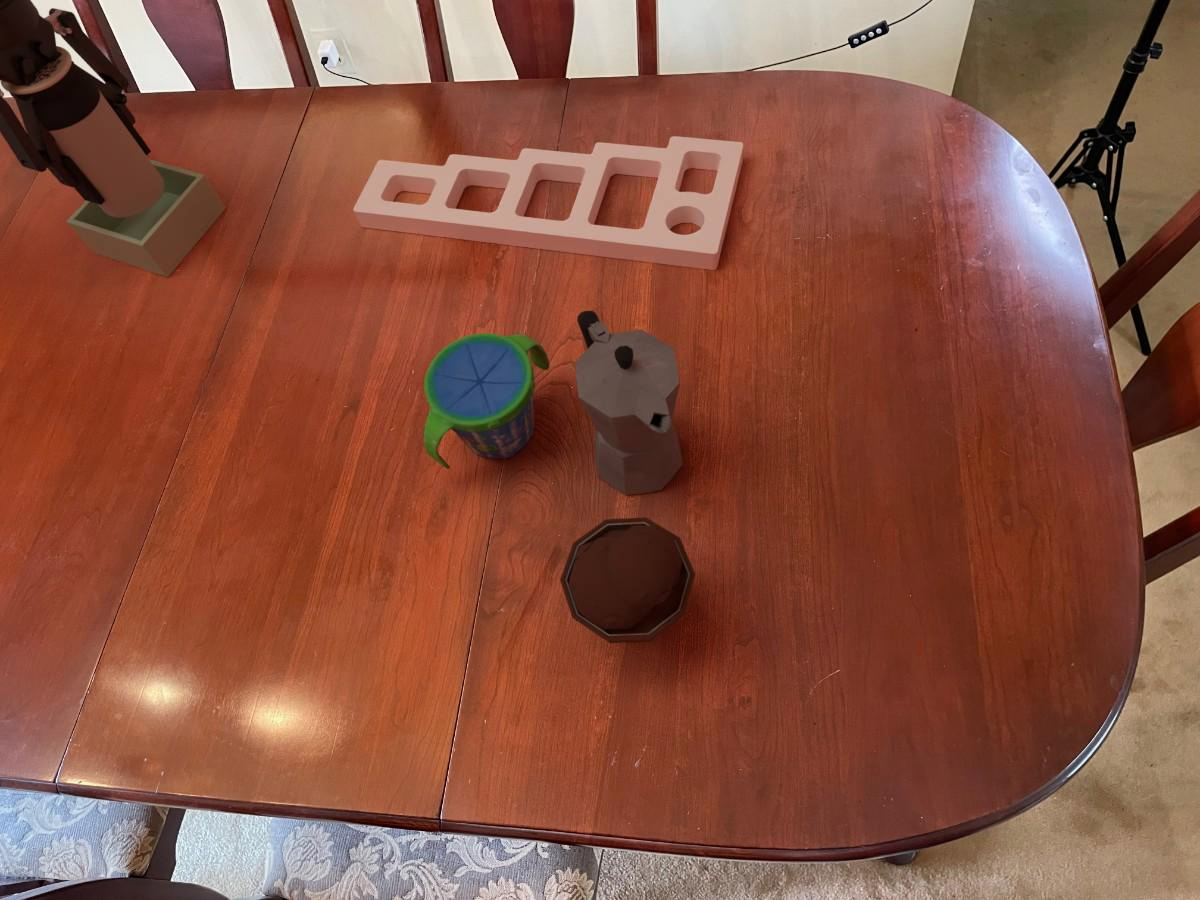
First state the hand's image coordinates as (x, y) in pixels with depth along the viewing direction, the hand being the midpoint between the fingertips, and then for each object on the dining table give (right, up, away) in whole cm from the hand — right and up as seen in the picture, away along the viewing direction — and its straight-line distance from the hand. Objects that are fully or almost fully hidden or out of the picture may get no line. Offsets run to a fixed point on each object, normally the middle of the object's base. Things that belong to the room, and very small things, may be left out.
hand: (118, 175), depth 102 cm
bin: (+1, -5, +8) cm, 9 cm away
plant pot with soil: (+61, -48, -24) cm, 81 cm away
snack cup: (+47, -31, -12) cm, 58 cm away
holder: (+52, -1, +4) cm, 52 cm away
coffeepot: (+61, -33, -15) cm, 71 cm away
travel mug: (0, -2, +3) cm, 4 cm away
